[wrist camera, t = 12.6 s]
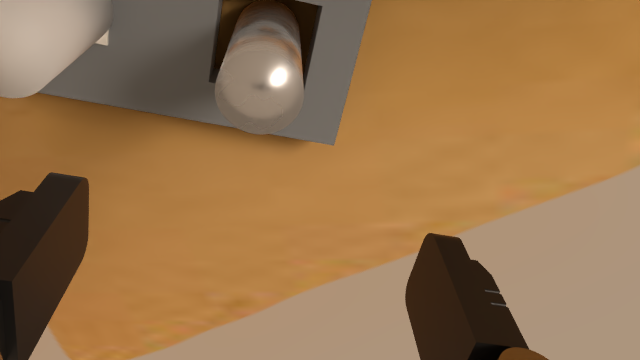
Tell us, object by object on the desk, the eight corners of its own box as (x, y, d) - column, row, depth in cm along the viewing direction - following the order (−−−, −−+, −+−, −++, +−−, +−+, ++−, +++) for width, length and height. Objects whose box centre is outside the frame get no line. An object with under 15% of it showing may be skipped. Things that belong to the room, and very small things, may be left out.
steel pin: (305, 6, 30) (312, 60, 21) (292, 68, 31) (294, 141, 23) (240, -8, 29) (221, 41, 21) (231, 56, 31) (209, 125, 22)
